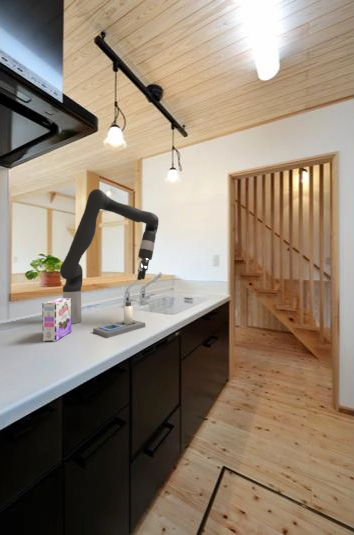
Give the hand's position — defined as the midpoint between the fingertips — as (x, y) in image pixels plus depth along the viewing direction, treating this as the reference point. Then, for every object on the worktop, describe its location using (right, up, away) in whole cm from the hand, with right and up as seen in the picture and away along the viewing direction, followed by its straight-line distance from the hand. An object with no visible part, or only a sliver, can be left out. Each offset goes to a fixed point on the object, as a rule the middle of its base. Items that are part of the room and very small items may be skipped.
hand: (140, 279), depth 120 cm
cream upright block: (-5, -24, -4) cm, 25 cm away
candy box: (-34, -25, -18) cm, 46 cm away
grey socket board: (-9, -24, -8) cm, 27 cm away
